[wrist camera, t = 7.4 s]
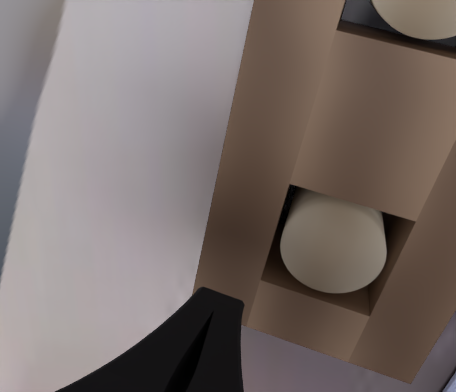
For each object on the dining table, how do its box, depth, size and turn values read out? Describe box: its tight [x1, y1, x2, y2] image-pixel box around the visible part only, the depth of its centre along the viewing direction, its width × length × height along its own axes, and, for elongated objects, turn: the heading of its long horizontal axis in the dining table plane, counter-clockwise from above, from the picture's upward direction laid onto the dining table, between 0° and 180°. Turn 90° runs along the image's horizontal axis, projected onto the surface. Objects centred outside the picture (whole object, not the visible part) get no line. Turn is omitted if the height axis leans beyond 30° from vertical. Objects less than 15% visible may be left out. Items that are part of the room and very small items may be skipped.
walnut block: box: [192, 0, 456, 384], centre depth 16 cm, size 10×20×5 cm, turn 169°
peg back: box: [280, 186, 387, 293], centre depth 19 cm, size 4×4×4 cm
